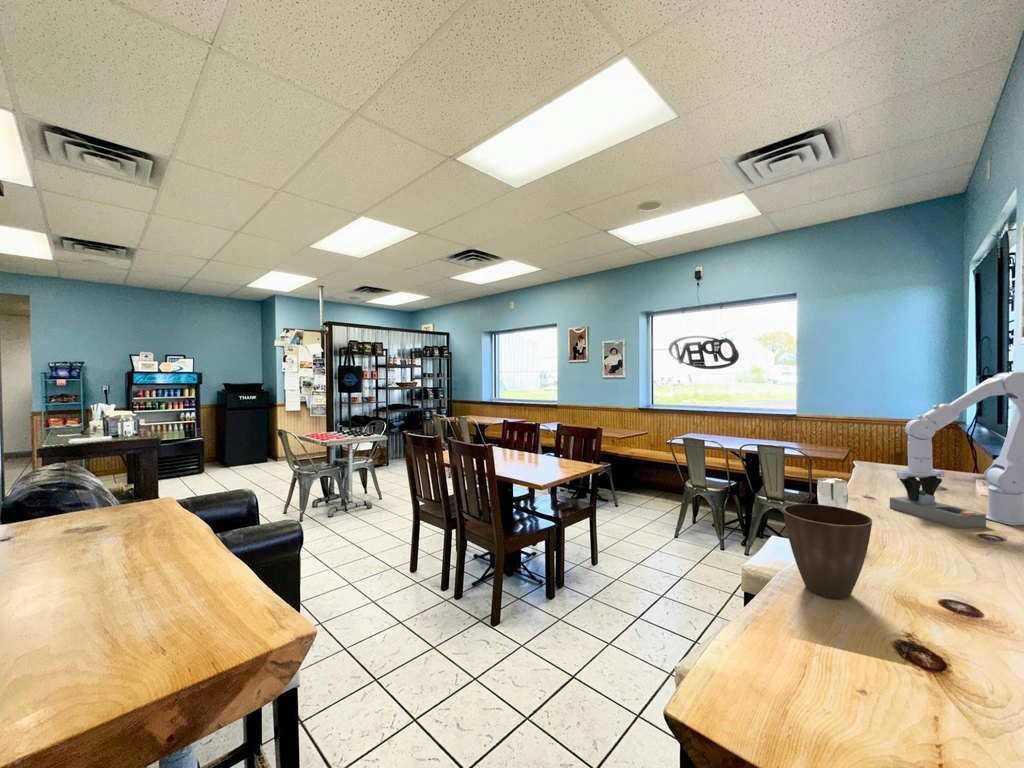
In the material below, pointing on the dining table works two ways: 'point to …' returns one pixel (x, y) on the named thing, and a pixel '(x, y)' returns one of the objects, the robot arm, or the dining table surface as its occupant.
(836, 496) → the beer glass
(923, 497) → the plug
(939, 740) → the dining table surface
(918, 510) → the grey slotted tray
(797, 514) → the plant pot
